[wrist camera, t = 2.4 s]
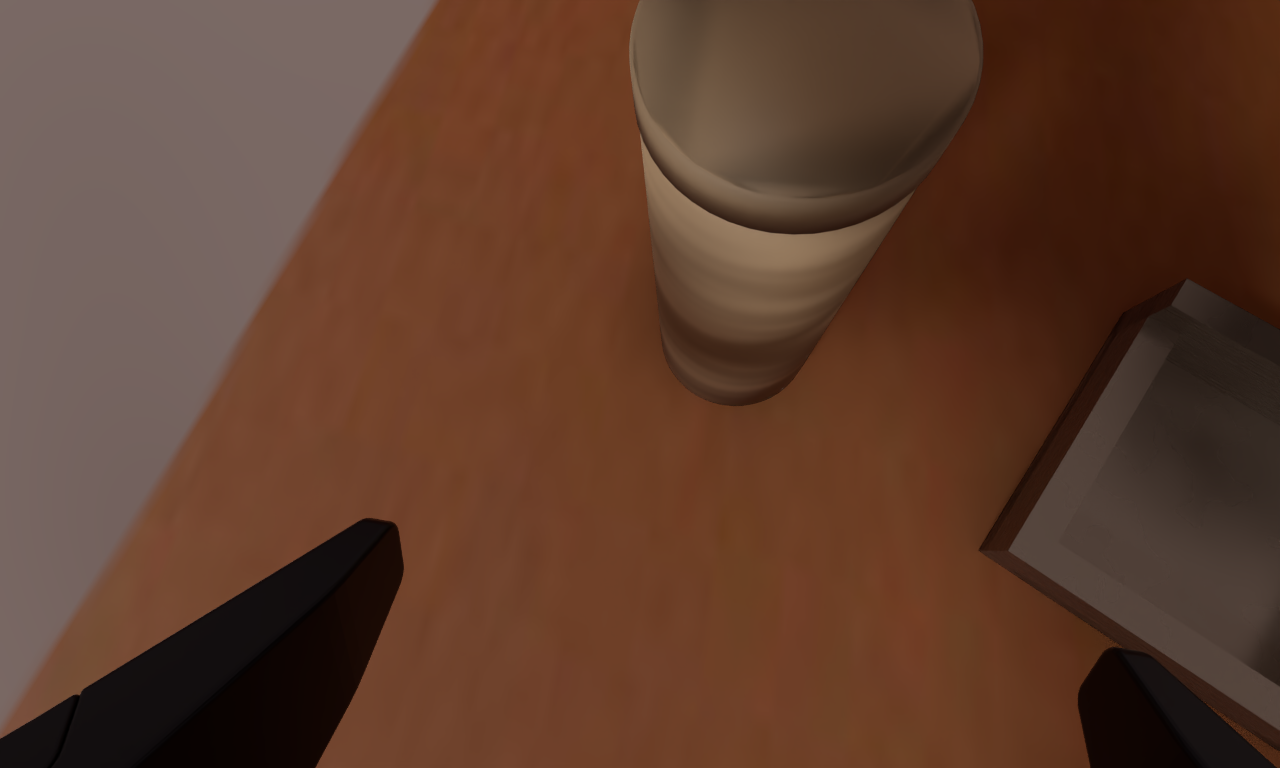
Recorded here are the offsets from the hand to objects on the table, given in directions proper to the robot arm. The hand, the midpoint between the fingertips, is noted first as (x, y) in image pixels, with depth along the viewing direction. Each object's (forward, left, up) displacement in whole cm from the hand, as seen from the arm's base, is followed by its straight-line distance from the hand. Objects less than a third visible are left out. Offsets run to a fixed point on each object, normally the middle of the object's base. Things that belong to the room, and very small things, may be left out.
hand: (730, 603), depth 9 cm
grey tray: (+14, -7, -13) cm, 20 cm away
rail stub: (+6, +6, -13) cm, 16 cm away
